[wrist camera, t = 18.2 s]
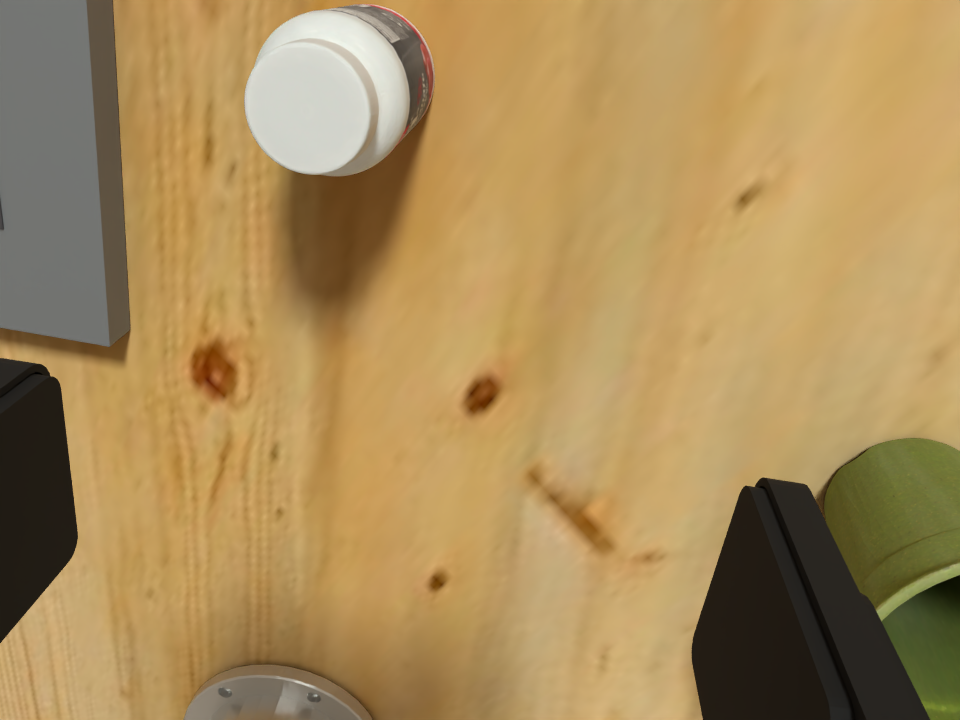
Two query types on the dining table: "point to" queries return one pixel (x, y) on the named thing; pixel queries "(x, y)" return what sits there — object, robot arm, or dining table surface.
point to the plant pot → (907, 556)
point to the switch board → (61, 172)
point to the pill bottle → (338, 89)
